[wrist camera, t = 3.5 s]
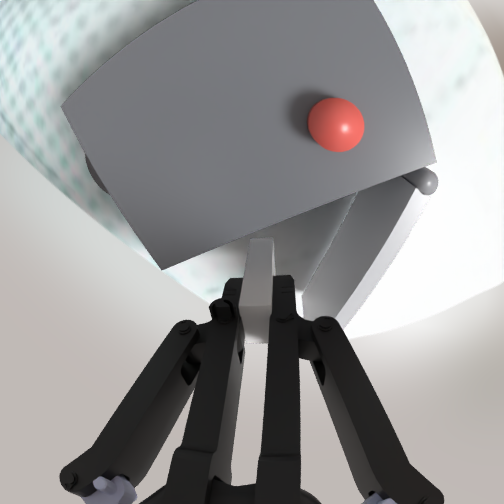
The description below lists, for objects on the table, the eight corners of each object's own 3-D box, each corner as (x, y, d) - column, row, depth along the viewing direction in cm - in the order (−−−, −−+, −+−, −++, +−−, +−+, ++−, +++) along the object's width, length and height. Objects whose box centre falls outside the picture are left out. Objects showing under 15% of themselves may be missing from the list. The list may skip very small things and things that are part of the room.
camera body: (113, 107, 15) (35, 125, 9) (318, 2, 11) (345, -53, 4) (181, 221, 20) (138, 287, 13) (382, 136, 15) (445, 167, 9)
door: (300, 295, 22) (305, 354, 17) (379, 142, 15) (424, 166, 10) (319, 300, 22) (327, 359, 17) (400, 153, 15) (448, 182, 10)
